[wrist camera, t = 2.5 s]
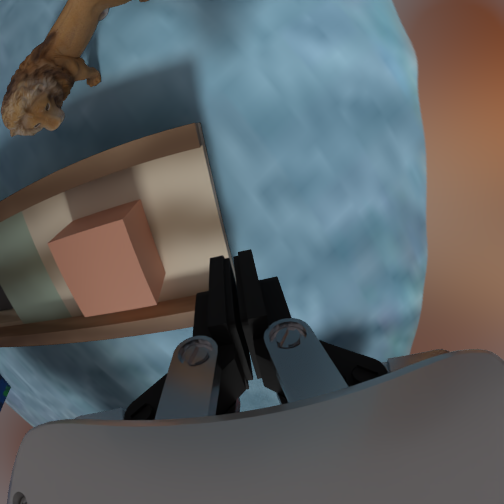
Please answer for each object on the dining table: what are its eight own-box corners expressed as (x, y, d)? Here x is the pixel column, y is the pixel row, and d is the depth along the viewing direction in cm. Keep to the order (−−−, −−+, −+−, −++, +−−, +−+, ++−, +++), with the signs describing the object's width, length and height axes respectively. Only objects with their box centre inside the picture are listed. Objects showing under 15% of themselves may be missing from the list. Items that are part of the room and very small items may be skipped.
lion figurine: (98, 133, 18) (33, 148, 10) (49, 123, 16) (-22, 136, 8) (167, -24, 12) (145, -82, 4) (112, -27, 11) (73, -73, 3)
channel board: (237, 281, 25) (242, 317, 21) (-4, 324, 24) (-20, 347, 20) (200, 122, 19) (194, 122, 14) (-49, 235, 18) (-71, 253, 13)
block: (165, 273, 20) (157, 304, 17) (101, 286, 20) (84, 317, 17) (140, 199, 18) (122, 219, 14) (72, 220, 18) (47, 243, 14)
